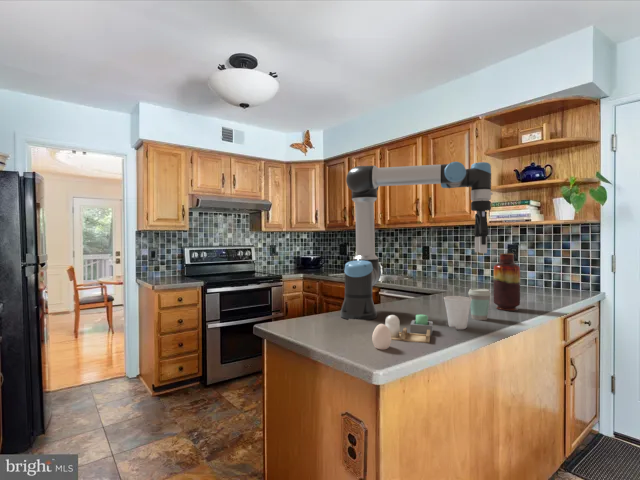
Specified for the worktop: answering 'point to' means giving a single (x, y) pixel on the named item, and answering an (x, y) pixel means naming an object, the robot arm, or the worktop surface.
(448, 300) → the cup
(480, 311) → the coffee cup
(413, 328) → the button collar
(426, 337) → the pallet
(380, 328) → the egg
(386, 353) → the worktop surface
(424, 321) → the button
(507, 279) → the vase
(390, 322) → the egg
